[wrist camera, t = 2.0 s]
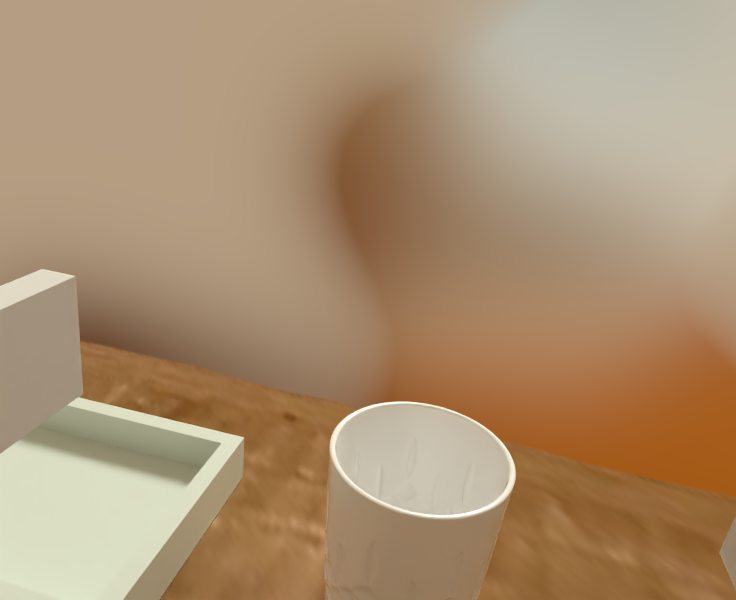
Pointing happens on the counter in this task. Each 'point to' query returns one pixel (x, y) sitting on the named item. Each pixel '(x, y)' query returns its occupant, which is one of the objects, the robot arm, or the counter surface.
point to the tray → (108, 502)
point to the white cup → (413, 504)
